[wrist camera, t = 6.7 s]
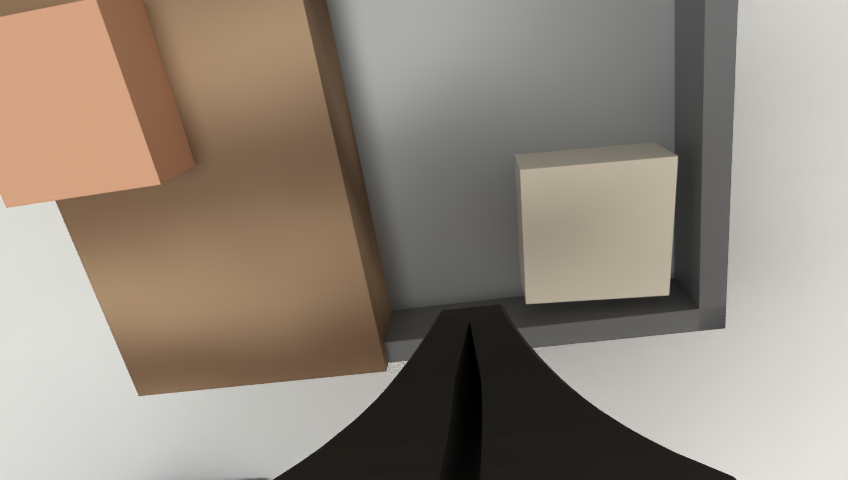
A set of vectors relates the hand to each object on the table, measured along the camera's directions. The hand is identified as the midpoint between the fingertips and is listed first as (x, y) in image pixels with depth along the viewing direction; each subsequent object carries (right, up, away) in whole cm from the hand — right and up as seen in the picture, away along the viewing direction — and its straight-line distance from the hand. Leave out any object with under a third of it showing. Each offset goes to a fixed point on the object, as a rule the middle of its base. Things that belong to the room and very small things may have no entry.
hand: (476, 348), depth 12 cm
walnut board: (-8, +5, +8) cm, 12 cm away
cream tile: (+4, +2, +5) cm, 7 cm away
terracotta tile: (-10, +6, +4) cm, 13 cm away
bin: (+2, +6, +6) cm, 9 cm away
